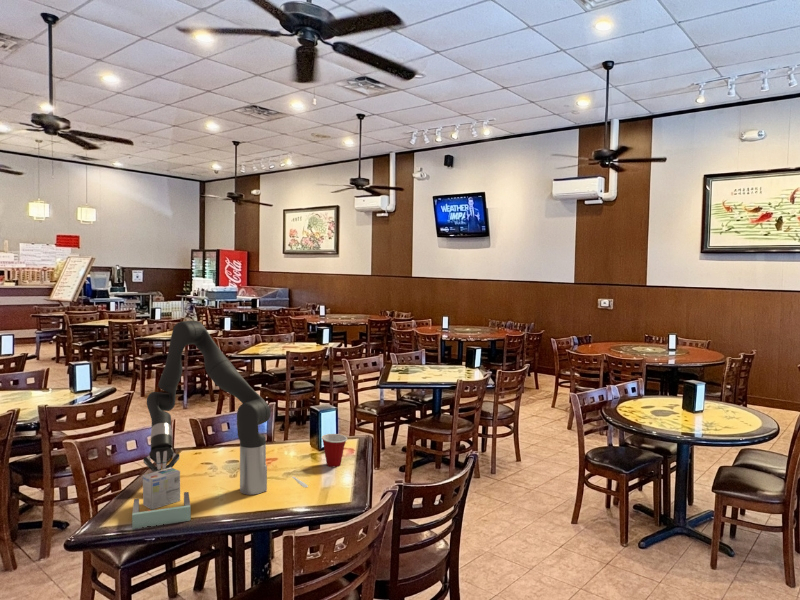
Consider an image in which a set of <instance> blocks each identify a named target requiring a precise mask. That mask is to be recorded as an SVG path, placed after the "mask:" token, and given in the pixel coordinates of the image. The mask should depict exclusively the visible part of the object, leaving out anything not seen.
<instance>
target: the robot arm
mask: <svg viewBox="0 0 800 600" xmlns="http://www.w3.org/2000/svg"><path fill="white" fill-rule="evenodd" d="M170 337H171V338H170V342H169V347H168V350H167V351H168V353H167V356H166V357H167V358H166V361H165V365H164V368H163V370H162V372H161V373H162V374H161V376H160V379H159V381H158V388H159V389H160V390H161V391H164V392H159V391H152V392H150V393H149V394H148V395H147V397H146V407H147V410H148V412H149V417H150V419H151V428H150V429H151V431H150V451H149V453H148V455H147V456H146V457H143V464H144V465H146V467H147V468H149V469H150V471H151V472H152V473H153V472H156V471H160V470H163V469H167V468H170V467H172V468H174V466H175V464H176V463H177V462H178V461H179V460H180V453H175V451H174V449H173V431H172V417H171V414H170V413H169V412H170V411H172V410H173V409H174V407H175V406H176V396H177V395H176V393H177V389H178V385H179V384H180V383H179V382H180V380H181V378H182V374H183V362H182V354H183V351H184V350H185V348H186V346H188V345H189V346H190V345H194V346H196V348H197V349H198V350H199V352H200V353H201V354H202V357H203V360H204V362H203V363H204V368H205V369H204V370H205V372H206V373H207V375H208V377H209V378H210V379H211V380H212V382H213V383H214V384H215V385H216V386H217V387H218V388H219V389H221V390H222V391H225V392H227V393H228V394H229V395H231V396H234V397H235V398H236V399H237V400H239V401H240V402H241V404H240V405H239V406H238V408H237V412H236V426H237V428H236V430H237V437H238V440H239V492H240V493H241V494H243V495H248V496H249V495H252V496H253V495H258V494H261V493H263V492H267V491H268V465H267V464H266V462H267V460H266V458H267V452H266V451H267V446H266V445H267V440H266V439H267V438H266V436H265V434H263V433H259V426H260V425H261V424H264V423H266V422H268V421H269V419H270V417H271V415H272V414H271V408H270V406H269V404H268V403H267V401H265V399H264V398H263V397H262V396H261V395H260V394H259V393H258V392H257V391H255V390H254V388H253V387H252V386H250V384H249V383H248V381H247V380H246V379H244V377H243V376H242V374H241V373H239V371H238V370H237V369H236V367H235V366H234V364H233V363H232V362H231V361H230V360H229V358H228V357H226V355H225V354H224V353H223V351H222V350H221V349H220V348H219V346H218V344H217V343H216V342H215V341H214V339H213V337H212V336H211V335H210V333H209V331H208V329H207V328H206V327H205V326H204V325H203V323H202V322H200V321H198V320H186V321H184V320H183V321H178V322H177V323H176V324H175V325H174V326H173V329H172V332H171V335H170ZM171 458H172V459H171ZM151 460H152V461H151ZM153 462H154V463H155V464H156V465H155V464H154V463H153ZM168 462H169V463H168ZM167 463H168V464H167Z"/></svg>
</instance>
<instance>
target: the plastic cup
mask: <svg viewBox="0 0 800 600" xmlns="http://www.w3.org/2000/svg"><path fill="white" fill-rule="evenodd" d="M321 439H322V444H323V445H322V446H323V450H324V456H325V461H326V462H325V463H326V465H327V466H328V467H329V468H337V466H338V467H340V466H341V465H342V460H343V456H344V455H343V454H344V449H345V445H346V442H347V440H348V437H347V436H345V435H344V434H338V433H327V434H323V435H322V436H321Z"/></svg>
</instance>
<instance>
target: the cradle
mask: <svg viewBox="0 0 800 600" xmlns="http://www.w3.org/2000/svg"><path fill="white" fill-rule="evenodd" d="M191 507H192V506H191V501H190V493H189V491H186V492H185V491H184V492H183V505H181V506H175V507H174V506H173V507H167V508H160V509H153V510H145V511H140V497H139V498H138V497H137V498H134V499H133V505H132V514H131V522H132V523H131V524H132V526H131V527H132V530H136V529H135V528H138V529H143V528H142V527H144V528H148V527H147V526H151V527H157V526H163V524H164V525H169V524H170V525H171V524H176V523H182V522H188V521H191V516H192V515H191V509H192V508H191ZM156 525H157V526H156Z"/></svg>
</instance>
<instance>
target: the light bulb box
mask: <svg viewBox="0 0 800 600" xmlns="http://www.w3.org/2000/svg"><path fill="white" fill-rule="evenodd" d="M142 496H143V497H142V500H143V501H142V505H143V506H144V507H145V508H148V509H149V510H150V511H152V510H157V509H158V508H163V507H164V506H165V507H166V506H168V505H171V504H174V503H177V502H180V501H181V470H178V469H176V468H174V467H170V468H167V469H163V470H162V469H161V470H160V471H155V472H153V471H152V472H150V473H146V474H142Z"/></svg>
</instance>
